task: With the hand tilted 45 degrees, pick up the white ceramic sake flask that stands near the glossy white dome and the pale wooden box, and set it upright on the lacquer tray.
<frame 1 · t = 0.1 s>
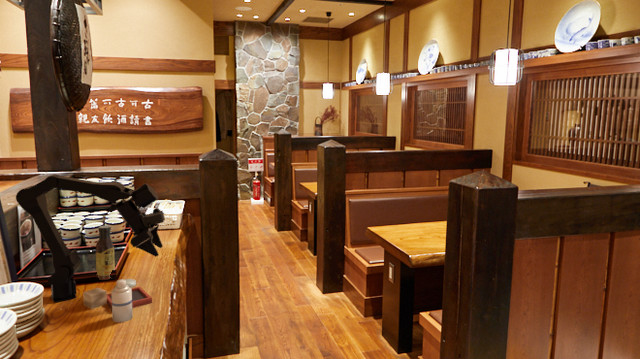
hand: (159, 251, 149), 15 cm above the table, tool tilted 35°, fingers open, 9 cm apart
lacquer tray: (128, 301, 143), on the table
glossy white dome: (127, 286, 156), on the table
sake flask: (122, 318, 132), on the table
sauce bottle: (106, 278, 163), on the table
wooden masu box: (95, 304, 140), on the table
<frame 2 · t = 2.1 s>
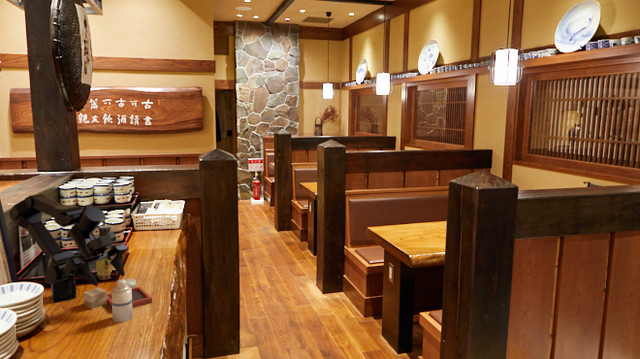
hand: (110, 280, 132), 11 cm above the table, tool tilted 45°, fingers open, 9 cm apart
nothing on the table moved.
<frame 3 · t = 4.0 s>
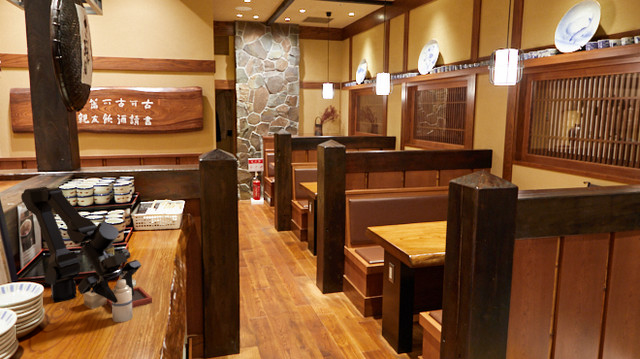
hand: (125, 298, 130), 7 cm above the table, tool tilted 45°, fingers closed on sake flask, 6 cm apart
sake flask: (122, 317, 132), on the table, touching gripper
everything else where it was.
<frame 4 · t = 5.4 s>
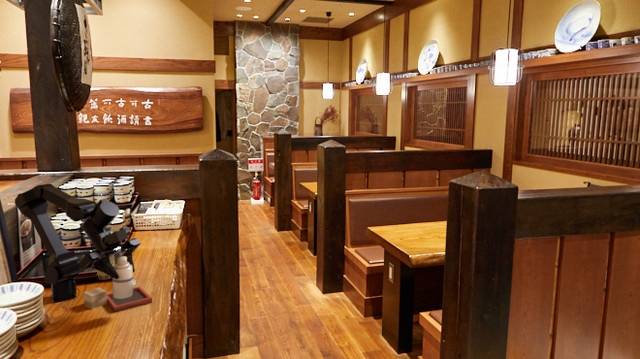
hand: (126, 275, 131), 13 cm above the table, tool tilted 45°, fingers closed on sake flask, 6 cm apart
sake flask: (123, 294, 133), point 7 cm above the table, touching gripper
everything else where it was.
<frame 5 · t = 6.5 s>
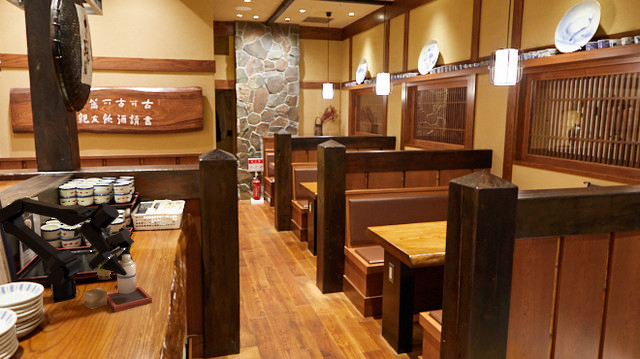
hand: (130, 271, 142), 11 cm above the table, tool tilted 45°, fingers closed on sake flask, 6 cm apart
sake flask: (127, 290, 143), point 4 cm above the table, touching gripper
everything else where it was.
when the fingers open (9 cm above the table, at t = 7.2 s): sake flask drops 1 cm, resting on lacquer tray.
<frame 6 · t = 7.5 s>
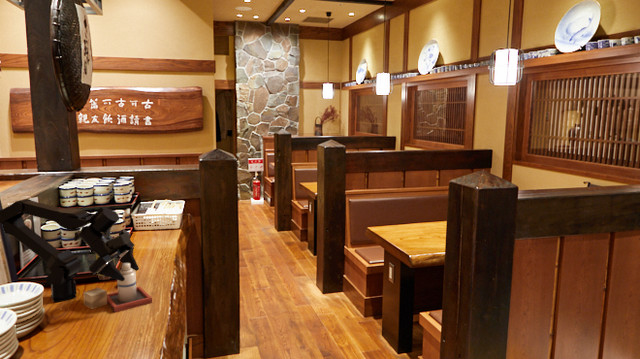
hand: (131, 274, 142), 9 cm above the table, tool tilted 45°, fingers open, 9 cm apart
sake flask: (127, 298, 143), point 1 cm above the table, touching lacquer tray
everything else where it was.
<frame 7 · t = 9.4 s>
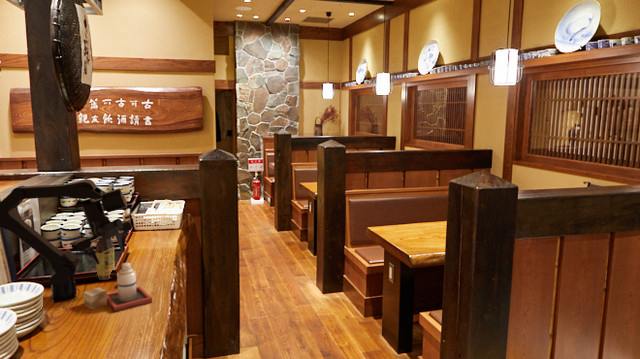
hand: (111, 258, 148), 13 cm above the table, tool tilted 15°, fingers open, 9 cm apart
nothing on the table moved.
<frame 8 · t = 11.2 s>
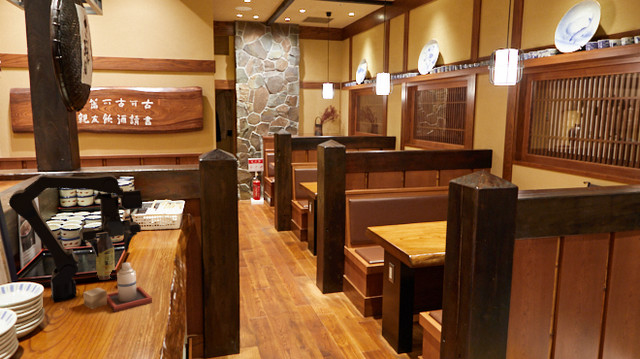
hand: (111, 254, 150), 13 cm above the table, tool pointing down, fingers open, 9 cm apart
nothing on the table moved.
at the end: sake flask inside the target area on the lacquer tray (0.1 cm from its centre), point 1.1 cm above the lacquer tray's base; sake flask tilted 2°; the gripper is holding nothing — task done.
